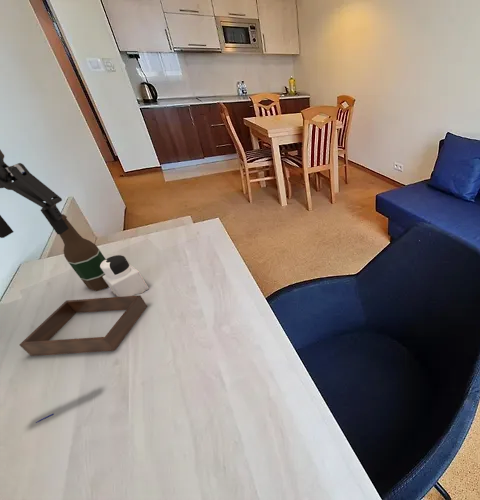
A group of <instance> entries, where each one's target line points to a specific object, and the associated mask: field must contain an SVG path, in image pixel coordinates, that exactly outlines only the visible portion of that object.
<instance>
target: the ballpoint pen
mask: <svg viewBox="0 0 480 500" xmlns="http://www.w3.org/2000/svg"><path fill="white" fill-rule="evenodd" d="M54 414H55V413H52V414H49V415H47V416H44V417H43V418H41V419H39V420H37V421H35V424H38V423H39V422H41V421H43V420H45V419H46V418H48V417H51V416H54Z"/></svg>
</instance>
